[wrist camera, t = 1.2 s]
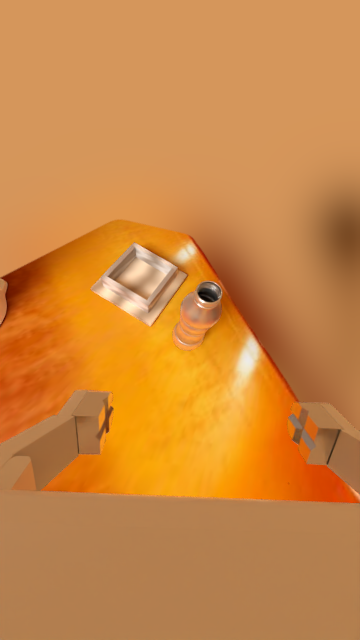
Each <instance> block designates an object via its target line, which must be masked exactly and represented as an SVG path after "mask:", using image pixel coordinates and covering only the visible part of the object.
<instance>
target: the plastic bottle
mask: <svg viewBox="0 0 360 640" xmlns="http://www.w3.org/2000/svg"><path fill="white" fill-rule="evenodd" d="M221 298H222V289H221V287H220V286H219V285H218V284H217V283H215V282H213V281H203V282H201V283H200V284H199V285H198V286H197V288H196V290H195V291H193V292H191V293H190V294H188V295H187V296H186V297H185V298H184V300H183V301H182V304H181V310H180V311H181V317H180V321H179V322H178V323H177V325H176V326H175V328H174V329H173V334H172V336H173V341H174V343H175V345H176V346H177V347H178V348H180V349H182V350H186V351H189V350H193V349H195V348H197V347H199V346H200V345H201V343H202V342H203V339H204V336H205V332H206V331H207V330H208V329H209V328H210V327H212V326H213V325H214V324H215V323H216V322H217V321H218V320H219V318H220V316H221V312H222V306H221V302H220V299H221Z"/></svg>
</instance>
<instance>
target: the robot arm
mask: <svg viewBox="0 0 360 640" xmlns="http://www.w3.org/2000/svg"><path fill="white" fill-rule="evenodd" d="M7 286H8V284H7V282H6V281H4V280H3V279H1V278H0V324H1V323H2V321H3V319H4V317H5V314H6V310H7V303H6V298H5V293H6V290H7ZM112 401H113V393H112V392H108V391H95V390H79V389H78V390H76V391H75V392H74V393H73V394H72V396H71V397H70V398H69V400H68V401H67V402H66V404H65V405H64V406H63V408H62V409H61V411H60V412H59V413H58V415H53V416H51V417H49V418H47V419H45V420H43V421H42V422H40V423H38V424H36V425H34V426H32V427H31V428H29V429H27V430H25V431H23V432H21V433H20V434H18V435H16V436H14V437H12V438H10V439H9V440H7V441H5V442H3V443H1V444H0V640H360V503H338V502H313V501H288V500H263V499H237V498H211V497H185V496H159V495H134V494H108V493H82V492H56V491H40V490H41V489H43V488H44V487H45V486H46V485H47V484H48V483H49V482H50V481H51V480H52V479H53V478H55V477H56V476H57V475H58V474H59V473H60V472H61V471H62V470H63V469H64V468H65V467H66V466H68V465H69V464H70V463H71V462H72V461H73V460H74V459H75V458H76V457H77V456H78V454H101V452H102V449H103V446H104V444H105V441H106V434H107V433H108V432H109V431H110V428H111V425H112V420H113V408H112V406H111V403H112ZM291 411H292V413H293V414H292V415H291V416H289V417H288V421H287V429H288V433H289V435H290V437H291V439H292V440H293V441H294V442H295V443H297V444H298V451H299V452H300V454H301V455H302V457H303V459H304V460H305V462H306V464H318V465H328V466H327V467H329V468H330V469H331V470H332V471H333V472H334V473H336V474H337V475H338V476H339V477H340V478H341V479H343V480H344V481H345V482H346V483H347V484H348V485H349V486H351V487H352V488H353V489H354V490H355V491H356V492H358V493H359V494H360V430H356V429H355V428H354V427H353V426H352V425H351V424H350V423H349V422H348V421H347V420H346V419H345V418H344V417H343V416H342V415H341V414H340V413H339V412H338V411H337V410H336V409H335V408H334V407H333V406H332V405H331V404H329V403H307V402H294V403H293V404H292V406H291Z"/></svg>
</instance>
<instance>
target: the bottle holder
mask: <svg viewBox="0 0 360 640" xmlns="http://www.w3.org/2000/svg"><path fill="white" fill-rule="evenodd" d="M186 278H187V274H185V273H184V272H182V271H180V270H178V267H177V266H175V265H173V264H171V263H170V262H168V261H166V260H164V259H163V258H161V257H159V256H157V255H156V254H154V253H152V252H150V251H149V250H147V249H145V248H143V247H142V246H140V245H138V244H136V243H135V242H134V243H133V244H132V245H131V246H130V247H129V248H128V249H127V250H126V251H125V252H124V253H123V255H122V256H121V257H120V258H119V259H118V260H117V261H116V262H115V263H114V264H113V265H112V266H111V267H110V268H109V269H108V270H107V271H106V272H105V273H104V274H103V275H102V277H101V278H100V279H99V280H98V281H97V282H96V283H95V284H94V285H93V286H92V287H91V290H92V291H93V292H95V293H96V294H98V295H100V296H101V297H103V298H105V299H106V300H108V301H109V302H111V303H113V304H114V305H116V306H118V307H119V308H121V309H122V310H124V311H126V312H127V313H129V314H131V315H132V316H134V317H136V318H137V319H139V320H140V321H142V322H144V323H145V324H147V325H149V326H150V327H151V326H152V325H153V323H154V322H155V320H156V319H157V318H158V316H159V315H160V314H161V312H162V311H163V309H164V308H165V307H166V305H167V304H168V302H169V301H170V300H171V298H172V297H173V296H174V294H175V293H176V291H177V290H178V289H179V287H180V286H181V284H182V283H183V282H184V280H185V279H186Z"/></svg>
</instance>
